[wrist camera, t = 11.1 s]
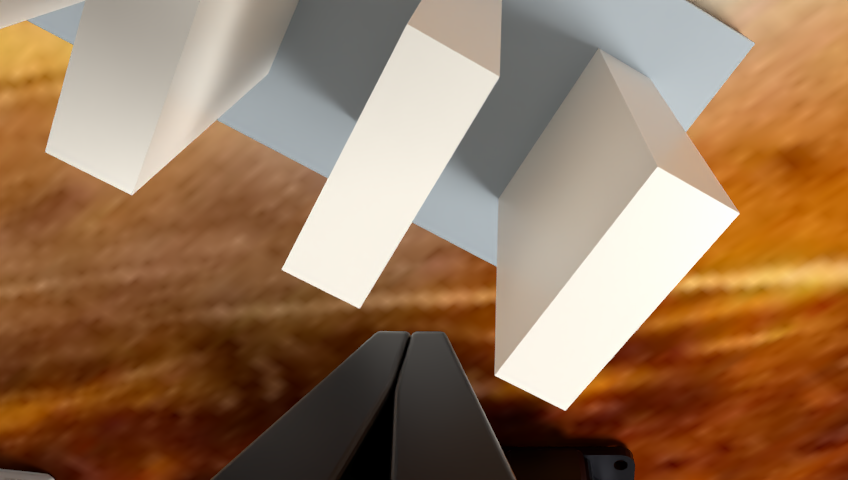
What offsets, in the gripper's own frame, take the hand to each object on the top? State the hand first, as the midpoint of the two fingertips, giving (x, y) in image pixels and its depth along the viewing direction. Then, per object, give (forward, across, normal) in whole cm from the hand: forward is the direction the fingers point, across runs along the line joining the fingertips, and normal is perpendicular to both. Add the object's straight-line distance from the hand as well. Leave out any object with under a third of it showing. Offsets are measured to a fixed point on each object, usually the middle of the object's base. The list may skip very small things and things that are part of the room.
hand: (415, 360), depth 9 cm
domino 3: (+12, -3, +1) cm, 12 cm away
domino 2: (+12, +1, -1) cm, 12 cm away
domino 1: (+12, +5, -3) cm, 13 cm away
